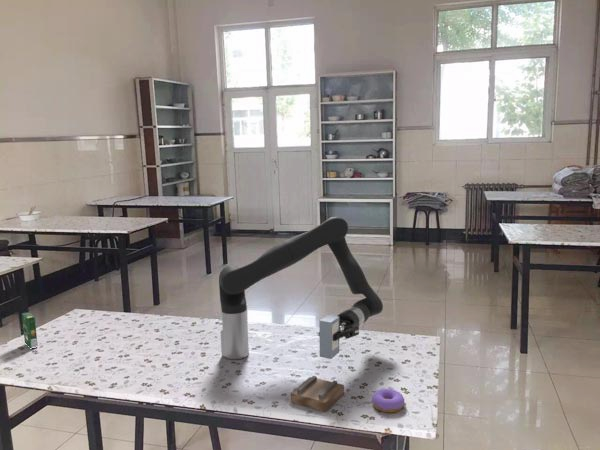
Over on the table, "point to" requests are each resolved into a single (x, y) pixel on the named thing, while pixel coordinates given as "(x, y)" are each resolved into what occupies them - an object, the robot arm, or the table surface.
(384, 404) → the donut
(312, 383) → the display stand
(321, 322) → the light blue rectangular block
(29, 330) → the coffee box
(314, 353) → the table surface
